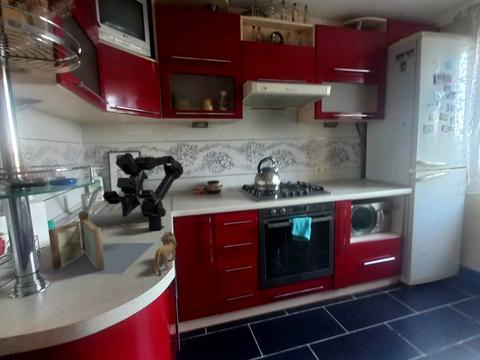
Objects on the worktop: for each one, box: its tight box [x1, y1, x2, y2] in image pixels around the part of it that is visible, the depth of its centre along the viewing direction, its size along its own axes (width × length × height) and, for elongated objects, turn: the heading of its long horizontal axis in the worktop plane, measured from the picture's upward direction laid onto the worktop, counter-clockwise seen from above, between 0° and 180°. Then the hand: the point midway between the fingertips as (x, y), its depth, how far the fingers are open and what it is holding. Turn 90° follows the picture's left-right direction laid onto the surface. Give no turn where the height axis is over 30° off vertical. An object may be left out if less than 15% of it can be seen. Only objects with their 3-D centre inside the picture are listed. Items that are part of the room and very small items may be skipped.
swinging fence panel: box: [82, 218, 105, 270], centre depth 79 cm, size 2×20×12 cm, turn 42°
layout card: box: [39, 242, 155, 275], centre depth 83 cm, size 24×26×1 cm
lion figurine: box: [153, 230, 177, 276], centre depth 75 cm, size 15×5×9 cm, turn 6°
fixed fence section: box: [48, 210, 89, 270], centre depth 81 cm, size 16×3×14 cm, turn 177°
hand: (124, 216), depth 89 cm, fingers closed
